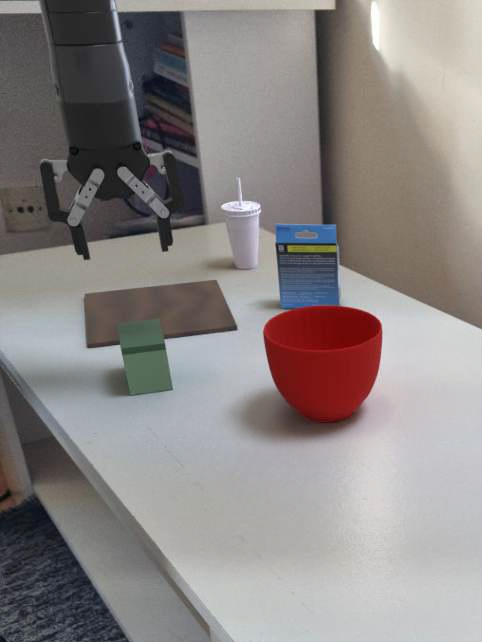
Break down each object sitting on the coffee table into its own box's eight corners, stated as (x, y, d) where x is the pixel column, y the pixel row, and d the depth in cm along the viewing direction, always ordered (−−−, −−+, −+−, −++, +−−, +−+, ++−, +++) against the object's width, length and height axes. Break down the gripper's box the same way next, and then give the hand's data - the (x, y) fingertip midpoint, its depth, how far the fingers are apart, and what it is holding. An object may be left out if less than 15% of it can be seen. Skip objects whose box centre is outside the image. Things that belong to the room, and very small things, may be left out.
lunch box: (130, 395, 96) (120, 348, 92) (126, 368, 102) (117, 323, 99) (173, 389, 97) (165, 343, 94) (166, 363, 103) (159, 318, 100)
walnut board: (88, 348, 107) (87, 343, 107) (85, 297, 123) (84, 293, 122) (237, 329, 112) (237, 325, 112) (216, 283, 128) (216, 279, 127)
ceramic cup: (403, 377, 100) (404, 299, 94) (364, 443, 86) (362, 357, 81) (305, 365, 102) (300, 289, 97) (252, 428, 89) (243, 343, 83)
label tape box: (341, 300, 121) (338, 216, 114) (339, 310, 118) (336, 224, 111) (283, 299, 121) (277, 216, 114) (280, 309, 118) (273, 224, 111)
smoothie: (229, 273, 131) (219, 183, 123) (225, 261, 136) (215, 174, 128) (268, 269, 133) (260, 180, 125) (262, 258, 138) (255, 171, 130)
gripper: (163, 85, 86) (186, 238, 95) (22, 92, 82) (60, 250, 92) (170, 95, 80) (194, 257, 90) (19, 103, 77) (59, 271, 86)
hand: (126, 254), depth 91 cm, fingers open, 8 cm apart
